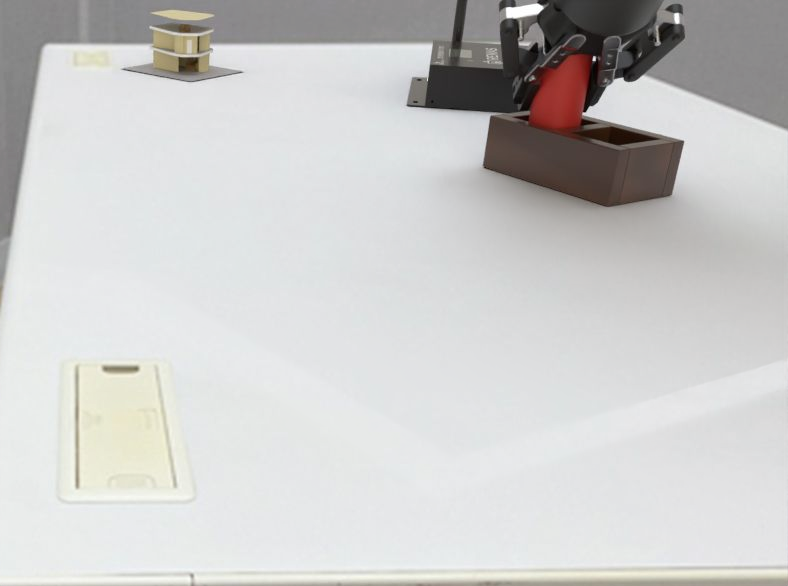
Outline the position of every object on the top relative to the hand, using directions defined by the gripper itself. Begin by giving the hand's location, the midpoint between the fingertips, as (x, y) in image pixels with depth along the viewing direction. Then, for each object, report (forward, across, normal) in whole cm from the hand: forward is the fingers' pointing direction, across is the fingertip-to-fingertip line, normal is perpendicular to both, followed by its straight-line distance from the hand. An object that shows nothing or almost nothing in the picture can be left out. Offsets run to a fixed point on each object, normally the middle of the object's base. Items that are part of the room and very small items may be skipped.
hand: (550, 101), depth 96 cm
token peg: (+2, 0, +5) cm, 5 cm away
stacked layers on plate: (+32, +30, -24) cm, 50 cm away
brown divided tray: (0, -2, +7) cm, 7 cm away
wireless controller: (+26, -1, -19) cm, 32 cm away
